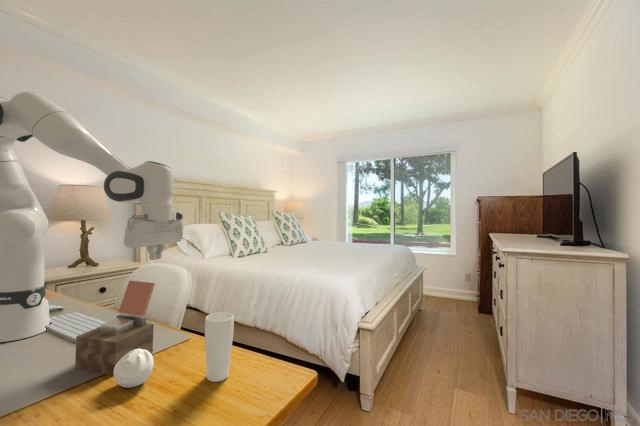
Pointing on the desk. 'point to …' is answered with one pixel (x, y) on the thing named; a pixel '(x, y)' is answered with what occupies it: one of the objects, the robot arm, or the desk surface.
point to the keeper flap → (136, 298)
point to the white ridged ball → (133, 368)
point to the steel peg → (116, 326)
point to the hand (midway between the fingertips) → (155, 259)
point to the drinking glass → (218, 345)
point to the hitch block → (112, 345)
